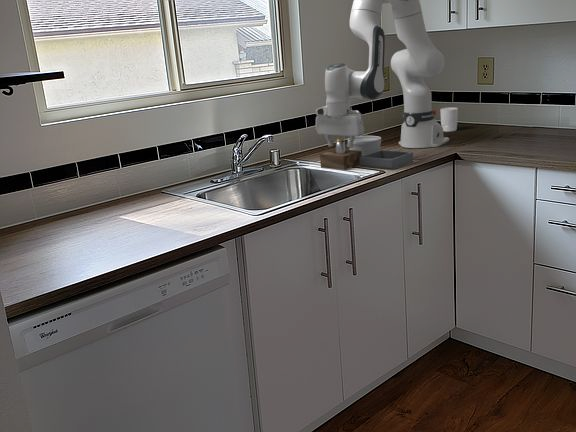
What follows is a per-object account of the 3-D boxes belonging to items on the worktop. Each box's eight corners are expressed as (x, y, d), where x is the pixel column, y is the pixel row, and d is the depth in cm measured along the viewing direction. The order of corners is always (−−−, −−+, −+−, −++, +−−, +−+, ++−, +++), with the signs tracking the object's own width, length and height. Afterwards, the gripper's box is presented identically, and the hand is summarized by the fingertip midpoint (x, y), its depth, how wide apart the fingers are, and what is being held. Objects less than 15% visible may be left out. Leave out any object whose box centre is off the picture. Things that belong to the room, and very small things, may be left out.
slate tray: (381, 158, 243) (381, 149, 242) (412, 161, 234) (412, 152, 233) (359, 166, 234) (359, 156, 233) (391, 169, 224) (391, 160, 223)
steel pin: (340, 164, 239) (339, 138, 237) (347, 165, 237) (346, 138, 234) (335, 166, 237) (333, 139, 234) (342, 167, 235) (340, 140, 232)
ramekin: (370, 150, 260) (369, 134, 259) (388, 155, 249) (387, 137, 247) (342, 155, 255) (341, 138, 253) (359, 160, 244) (358, 142, 242)
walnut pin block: (339, 161, 245) (338, 148, 243) (362, 163, 237) (361, 150, 236) (320, 167, 237) (319, 154, 236) (343, 170, 230) (343, 156, 228)
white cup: (438, 132, 290) (438, 110, 287) (442, 129, 297) (441, 107, 294) (456, 131, 287) (456, 109, 284) (459, 128, 294) (459, 107, 291)
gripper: (366, 109, 226) (368, 147, 230) (322, 107, 240) (325, 143, 244) (356, 111, 222) (357, 150, 226) (312, 110, 236) (314, 146, 240)
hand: (340, 147), depth 235 cm, fingers open, 8 cm apart
